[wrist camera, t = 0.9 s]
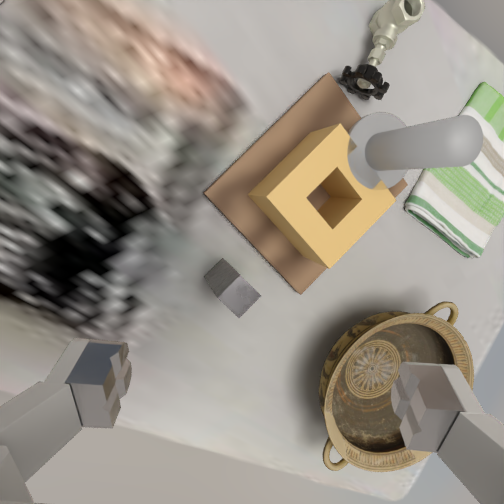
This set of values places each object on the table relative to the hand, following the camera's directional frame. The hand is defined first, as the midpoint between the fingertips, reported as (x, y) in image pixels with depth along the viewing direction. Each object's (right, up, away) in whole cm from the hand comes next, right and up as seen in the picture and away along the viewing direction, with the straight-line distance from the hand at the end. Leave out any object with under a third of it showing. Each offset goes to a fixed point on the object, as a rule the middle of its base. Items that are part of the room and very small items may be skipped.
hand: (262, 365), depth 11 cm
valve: (+16, +31, +40) cm, 53 cm away
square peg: (-4, 0, +40) cm, 40 cm away
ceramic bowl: (+18, -15, +50) cm, 55 cm away
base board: (+8, +12, +41) cm, 44 cm away
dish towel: (+35, +16, +49) cm, 63 cm away
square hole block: (+10, +13, +40) cm, 43 cm away
